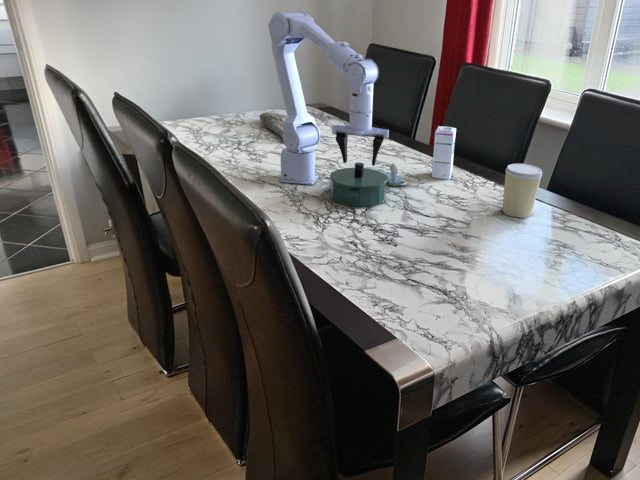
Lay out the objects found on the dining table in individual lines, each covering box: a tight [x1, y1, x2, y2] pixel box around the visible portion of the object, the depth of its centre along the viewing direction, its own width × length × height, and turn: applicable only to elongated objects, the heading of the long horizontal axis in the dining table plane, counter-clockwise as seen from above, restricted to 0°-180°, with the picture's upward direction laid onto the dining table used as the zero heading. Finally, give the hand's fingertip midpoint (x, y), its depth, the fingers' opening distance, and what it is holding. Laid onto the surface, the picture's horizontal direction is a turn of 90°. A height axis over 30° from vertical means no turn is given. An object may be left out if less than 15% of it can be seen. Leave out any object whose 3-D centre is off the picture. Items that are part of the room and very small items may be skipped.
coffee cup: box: [502, 163, 543, 219], centre depth 151 cm, size 9×9×12 cm
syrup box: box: [431, 125, 457, 180], centre depth 174 cm, size 6×6×14 cm
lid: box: [329, 162, 388, 188], centre depth 154 cm, size 16×16×5 cm
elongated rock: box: [259, 111, 287, 139], centre depth 211 cm, size 35×5×10 cm
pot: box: [330, 180, 387, 208], centre depth 156 cm, size 15×20×5 cm
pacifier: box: [384, 162, 408, 187], centre depth 167 cm, size 7×6×6 cm
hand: (359, 163), depth 153 cm, fingers open, 7 cm apart
